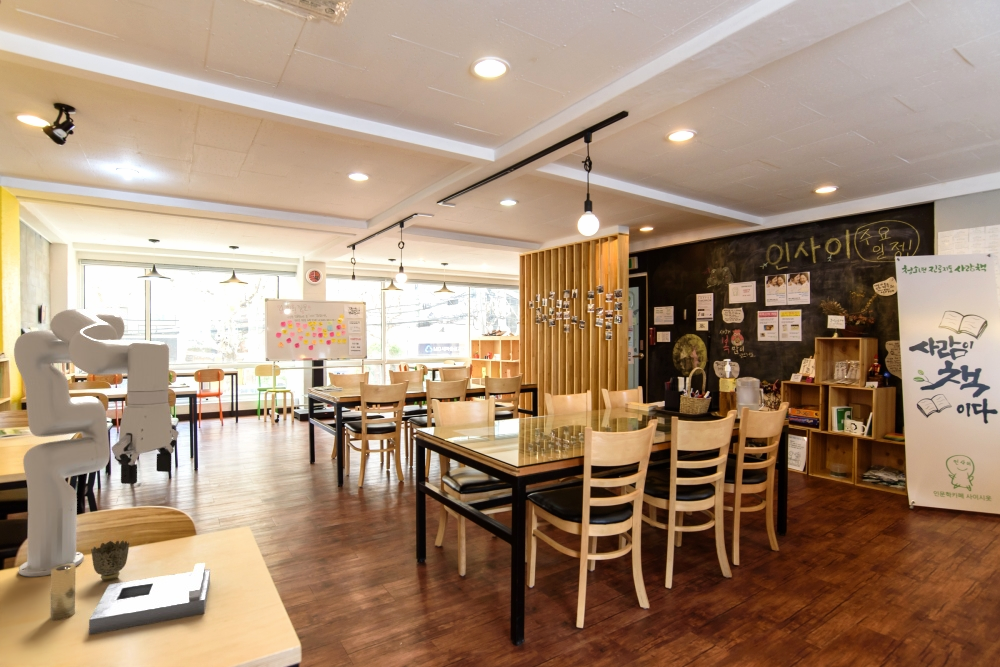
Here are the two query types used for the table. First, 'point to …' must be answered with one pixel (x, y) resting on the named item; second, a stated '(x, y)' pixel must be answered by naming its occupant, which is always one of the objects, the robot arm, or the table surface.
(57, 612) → the brass bushing
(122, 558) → the cup
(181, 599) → the plate
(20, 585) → the table surface
